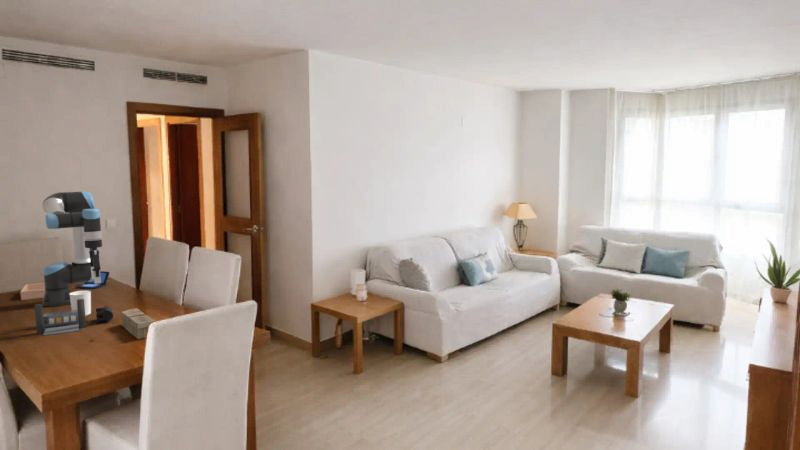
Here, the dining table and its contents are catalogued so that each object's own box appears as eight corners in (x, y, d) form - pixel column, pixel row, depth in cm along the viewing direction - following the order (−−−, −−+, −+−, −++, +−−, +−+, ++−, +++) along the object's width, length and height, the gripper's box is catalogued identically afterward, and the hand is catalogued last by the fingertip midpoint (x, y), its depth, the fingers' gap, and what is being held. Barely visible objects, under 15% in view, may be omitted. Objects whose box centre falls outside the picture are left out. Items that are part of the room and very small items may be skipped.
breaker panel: (45, 325, 254) (44, 313, 253) (82, 320, 262) (81, 309, 261) (43, 329, 247) (42, 317, 247) (82, 324, 255) (81, 312, 254)
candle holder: (82, 317, 266) (80, 295, 265) (66, 316, 268) (64, 294, 267) (96, 312, 276) (95, 290, 274) (81, 311, 278) (79, 290, 276)
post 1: (37, 332, 242) (34, 304, 241) (44, 331, 244) (42, 303, 242) (36, 334, 240) (33, 305, 238) (44, 333, 241) (41, 304, 240)
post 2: (79, 327, 251) (77, 299, 249) (86, 326, 252) (84, 298, 251) (78, 328, 248) (76, 300, 246) (86, 327, 250) (83, 300, 248)
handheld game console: (74, 288, 330) (73, 274, 329) (90, 284, 343) (89, 270, 342) (96, 289, 327) (95, 275, 326) (110, 284, 340) (110, 271, 339)
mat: (45, 329, 247) (45, 328, 247) (79, 324, 254) (79, 324, 254) (43, 335, 238) (43, 335, 238) (78, 331, 245) (78, 330, 245)
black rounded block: (113, 322, 259) (112, 309, 258) (97, 324, 255) (96, 311, 254) (112, 317, 267) (111, 304, 266) (96, 319, 263) (95, 306, 262)
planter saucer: (26, 292, 319) (25, 284, 319) (64, 288, 329) (63, 281, 329) (21, 300, 301) (20, 291, 301) (61, 295, 311) (60, 287, 310)
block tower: (121, 327, 254) (138, 340, 232) (120, 311, 253) (136, 322, 231) (138, 324, 259) (156, 336, 237) (137, 308, 258) (155, 318, 236)
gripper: (82, 237, 263) (85, 278, 265) (86, 242, 243) (90, 286, 245) (98, 236, 267) (101, 276, 269) (104, 241, 247) (108, 284, 249)
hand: (96, 281), depth 257 cm, fingers open, 13 cm apart
